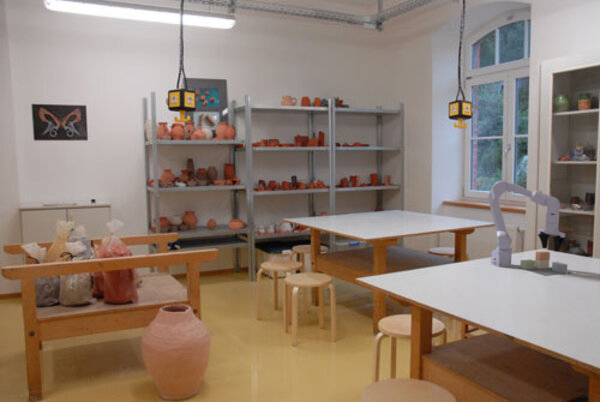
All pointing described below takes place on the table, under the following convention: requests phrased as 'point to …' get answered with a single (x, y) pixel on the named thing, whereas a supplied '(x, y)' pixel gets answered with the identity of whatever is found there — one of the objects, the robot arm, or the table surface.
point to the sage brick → (527, 264)
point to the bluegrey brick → (559, 267)
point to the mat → (545, 271)
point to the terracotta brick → (542, 255)
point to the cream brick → (541, 264)
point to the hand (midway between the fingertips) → (550, 249)
